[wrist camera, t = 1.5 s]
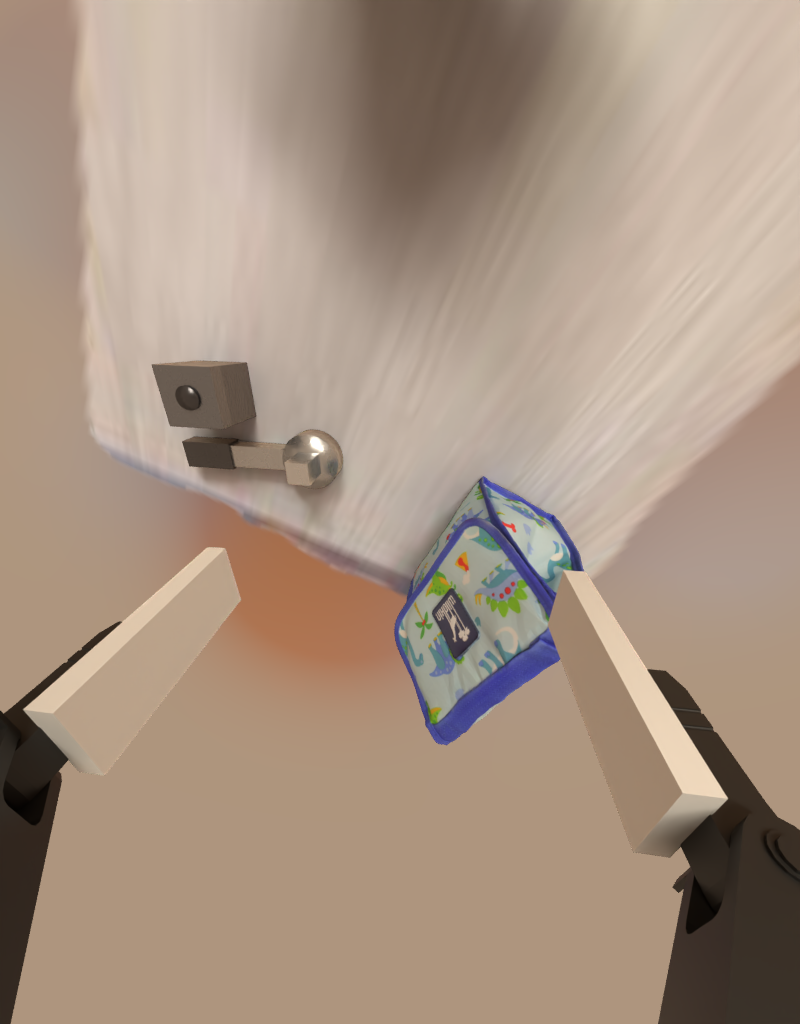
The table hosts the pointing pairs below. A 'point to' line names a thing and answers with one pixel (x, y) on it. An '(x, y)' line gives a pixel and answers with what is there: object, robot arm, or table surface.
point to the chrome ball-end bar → (273, 456)
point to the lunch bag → (483, 608)
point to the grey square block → (205, 393)
